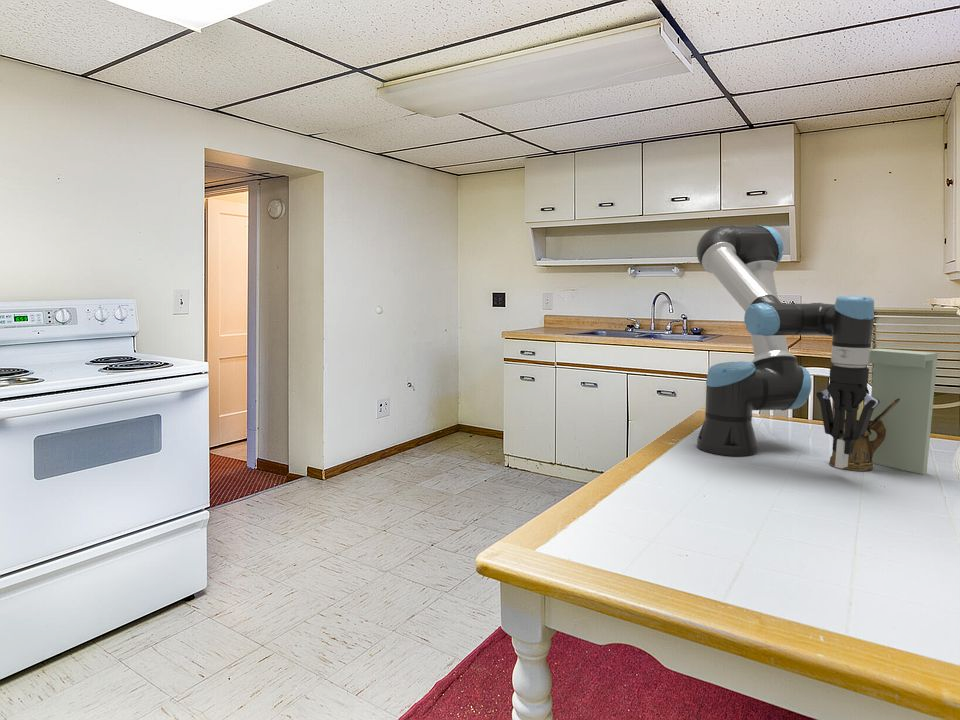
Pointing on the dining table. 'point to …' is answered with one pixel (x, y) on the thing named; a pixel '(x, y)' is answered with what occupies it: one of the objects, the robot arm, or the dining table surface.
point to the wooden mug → (866, 444)
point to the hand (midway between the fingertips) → (841, 466)
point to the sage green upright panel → (903, 406)
